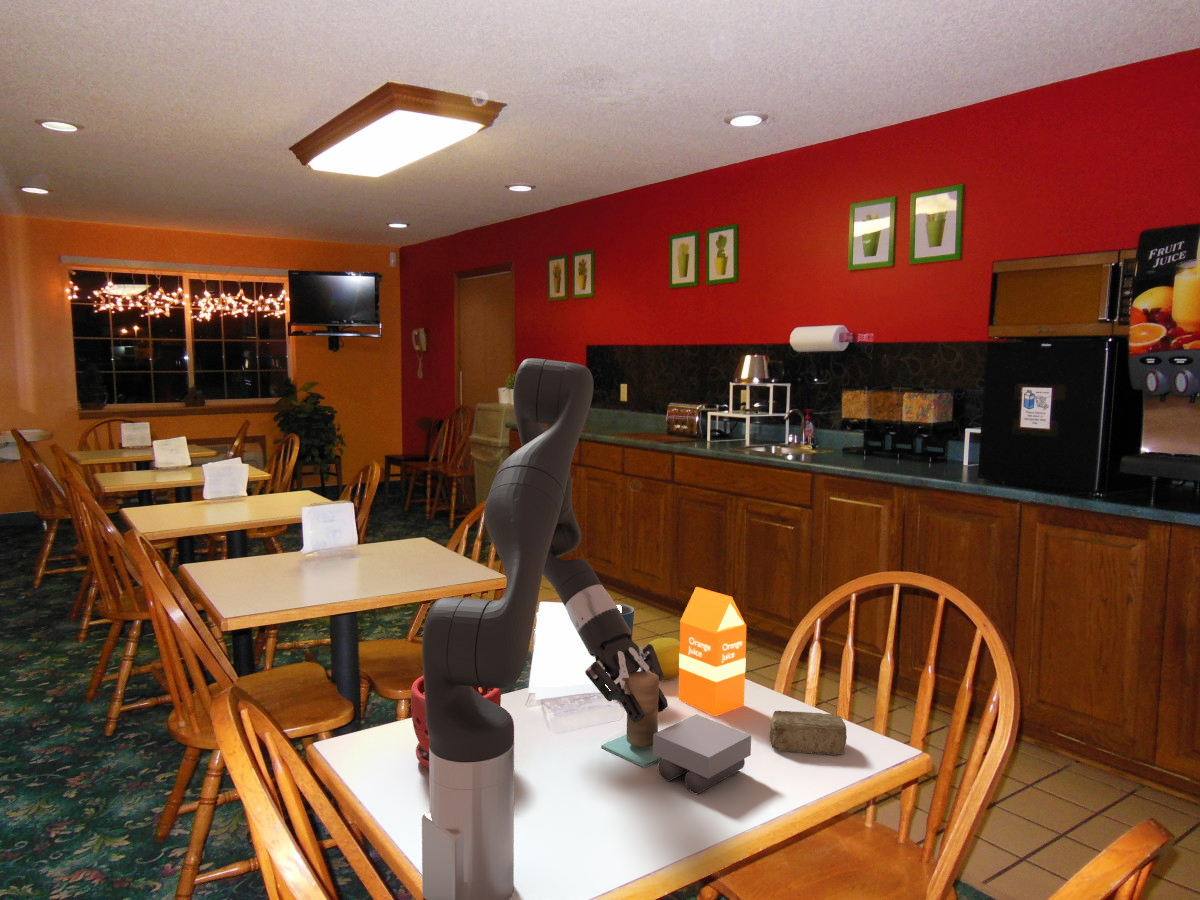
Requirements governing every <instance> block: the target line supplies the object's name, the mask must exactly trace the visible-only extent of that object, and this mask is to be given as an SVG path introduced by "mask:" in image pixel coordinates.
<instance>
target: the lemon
mask: <svg viewBox="0 0 1200 900" xmlns="http://www.w3.org/2000/svg"><path fill="white" fill-rule="evenodd" d="M648 644H651V645H652V646H653V648H654V650H655V653H656V656H657V658H658V661H659V664H660V666H661V669H662V672H663V675H664V676H663V677H662V678H661V679H660V680H659V682H660V681H663V682H665V681H666V682H667V681H672V680H674V679H676V678H679V653H680V640H678V639H677V638H674V637H673V638H672V637H659V638H655V639H652V640H651V641H650V642H648V643H647V644H645V646H647V645H648ZM653 672H654V673H655V671H654V669H653Z"/></svg>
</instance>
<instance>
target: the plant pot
mask: <svg viewBox="0 0 1200 900" xmlns="http://www.w3.org/2000/svg"><path fill="white" fill-rule="evenodd" d="M472 687H473V689H474V690H475V691H476V692H478V693H479V694H480V695H481V696H483V697H484V698H486V699H488V700H489V701H491V702H493V703H495V704H497V705H499V706H501V703H502V702H501V701H502V688H486V687H480V688H481V689H482V691H479V687H474V686H472ZM489 690H490V692H488V691H489ZM410 706H411V707H410V708H411V709H410V711H411V720H412V725H413V729H414V730H413V731H414V734H415V737H416V738H417V742H418V743H417V744H416V747H415V757H416V759H417V760H418V762H420V764H421V765H422V766H424V767H425V768H427V769H429V733H428V729H427V725H426V712H425V690H424V676H423V675H421V676H420V677H418V678H417V679H416V680H415V681H414V682H413V684H412V685H411V689H410Z"/></svg>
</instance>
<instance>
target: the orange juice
mask: <svg viewBox="0 0 1200 900" xmlns="http://www.w3.org/2000/svg"><path fill="white" fill-rule="evenodd" d="M679 623H680V626H679V627H680V628H679V630H680V631H679V642H680V653H679V676H678V701H679V700H681V701H680V702H682V701H683V703H684V702H686V703H688V704H687V705H689V704H690V705H689V706H691V705H692V706H691V707H693V706H694V708H695V707H696V709H698V710H700V709H701V710H700V711H702V710H703V711H702V712H704V711H705V713H707V714H709V715H711V716H713V715H714V717H716V715H717V716H720V715H721V714H724V713H727V712H730V711H732V709H733V710H735V709H738V708H740V707H743V706H745V689H746V688H745V685H746V684H745V683H746V681H745V680H746V679H745V678H746V662H747V661H746V658H747V657H746V652H747V651H746V650H747V623H745V621H744V618H743V617H742V615H741V612H740V611H739V609H738V607H737V605H736V603H735V600H734V598H733V596H730V595H727V594H723V593H719V592H716V591H714V590H713V591H712V590H709V589H705V588H703V587H698V586H696V587H695V588H694V591H693V593H692V595H691V597H690V599H689V601H688V603H687V606H686V607H685V610H684V612H683V614H682V617H681V618H680V621H679ZM686 703H685V704H686Z"/></svg>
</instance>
